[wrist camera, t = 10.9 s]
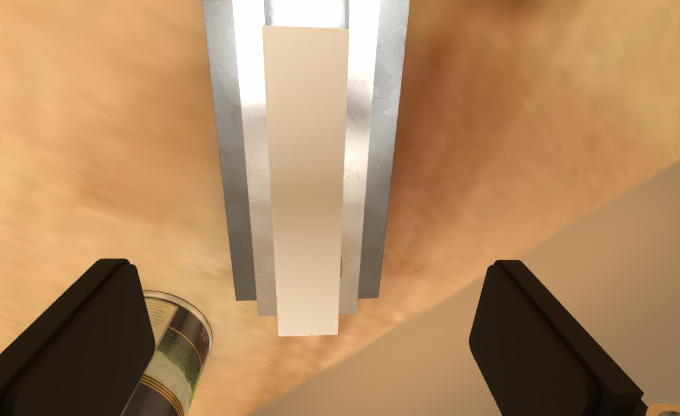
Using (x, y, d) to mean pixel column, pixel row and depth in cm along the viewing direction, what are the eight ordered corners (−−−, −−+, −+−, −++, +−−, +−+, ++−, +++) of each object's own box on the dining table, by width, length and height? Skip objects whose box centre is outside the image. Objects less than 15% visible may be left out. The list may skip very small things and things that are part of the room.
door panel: (338, 36, 21) (358, 29, 12) (333, 237, 27) (343, 334, 18) (283, 34, 21) (261, 25, 12) (290, 237, 27) (278, 336, 18)
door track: (411, -74, 20) (436, -105, 16) (375, 287, 31) (384, 323, 27) (199, -90, 19) (168, -126, 15) (239, 289, 30) (228, 326, 26)
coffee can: (234, 323, 32) (181, 509, 19) (179, 387, 35) (102, 585, 22) (125, 268, 28) (-27, 449, 16) (75, 345, 31) (-87, 548, 19)
